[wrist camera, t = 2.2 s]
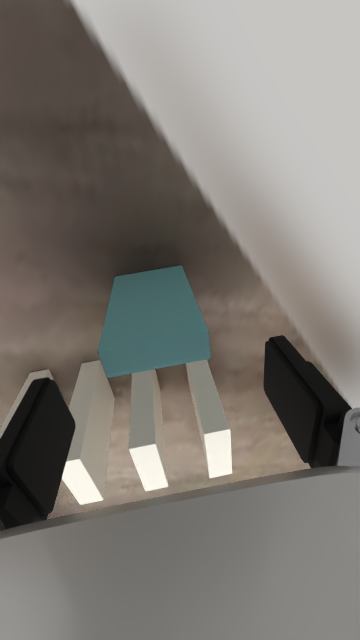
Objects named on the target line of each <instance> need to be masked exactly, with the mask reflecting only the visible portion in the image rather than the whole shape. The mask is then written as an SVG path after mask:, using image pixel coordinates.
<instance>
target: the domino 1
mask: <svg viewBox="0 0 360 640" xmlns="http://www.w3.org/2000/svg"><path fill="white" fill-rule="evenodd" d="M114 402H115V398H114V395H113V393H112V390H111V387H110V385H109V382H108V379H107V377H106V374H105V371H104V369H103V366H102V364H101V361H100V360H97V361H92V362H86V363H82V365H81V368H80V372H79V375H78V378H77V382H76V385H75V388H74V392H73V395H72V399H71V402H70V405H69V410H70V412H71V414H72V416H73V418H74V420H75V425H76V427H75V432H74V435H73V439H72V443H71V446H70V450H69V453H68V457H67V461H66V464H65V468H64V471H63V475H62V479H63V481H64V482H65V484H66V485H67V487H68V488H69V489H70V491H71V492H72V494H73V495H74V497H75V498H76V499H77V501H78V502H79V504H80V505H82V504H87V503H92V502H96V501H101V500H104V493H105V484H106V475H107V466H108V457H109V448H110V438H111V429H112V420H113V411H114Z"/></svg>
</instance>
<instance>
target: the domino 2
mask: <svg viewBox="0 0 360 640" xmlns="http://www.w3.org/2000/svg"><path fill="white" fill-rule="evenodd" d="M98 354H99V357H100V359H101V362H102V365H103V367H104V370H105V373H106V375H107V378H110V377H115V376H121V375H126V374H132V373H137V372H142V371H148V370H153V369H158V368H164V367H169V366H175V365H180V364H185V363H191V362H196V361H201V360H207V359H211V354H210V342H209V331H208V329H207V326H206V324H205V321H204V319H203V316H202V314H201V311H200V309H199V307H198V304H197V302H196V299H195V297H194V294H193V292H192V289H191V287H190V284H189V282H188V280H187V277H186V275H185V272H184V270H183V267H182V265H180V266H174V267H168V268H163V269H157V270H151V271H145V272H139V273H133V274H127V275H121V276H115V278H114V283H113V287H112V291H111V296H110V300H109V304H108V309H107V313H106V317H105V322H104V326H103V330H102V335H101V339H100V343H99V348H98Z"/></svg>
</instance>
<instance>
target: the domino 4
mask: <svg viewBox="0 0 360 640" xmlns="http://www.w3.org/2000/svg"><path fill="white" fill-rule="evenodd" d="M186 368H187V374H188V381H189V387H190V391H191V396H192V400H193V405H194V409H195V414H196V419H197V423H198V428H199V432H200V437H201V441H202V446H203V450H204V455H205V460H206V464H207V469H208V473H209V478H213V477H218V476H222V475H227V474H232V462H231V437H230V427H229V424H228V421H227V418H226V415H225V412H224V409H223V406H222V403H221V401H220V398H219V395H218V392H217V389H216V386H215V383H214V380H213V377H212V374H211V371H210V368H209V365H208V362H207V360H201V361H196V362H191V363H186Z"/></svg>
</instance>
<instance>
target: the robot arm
mask: <svg viewBox="0 0 360 640" xmlns="http://www.w3.org/2000/svg"><path fill="white" fill-rule="evenodd" d="M264 391H265V393H266V395H267V397H268V399H269V401H270V403H271V404H272V406H273V408H274V410H275V412H276V413H277V415H278V417H279V419H280V421H281V423H282V424H283V426H284V428H285V430H286V432H287V433H288V435H289V437H290V439H291V441H292V443H293V444H294V446H295V448H296V450H297V452H298V453H299V455H300V457H301V459H302V460H303V462H304V463H309V465H310V467H311V469H305V470H299V471H293V472H287V473H281V474H276V475H270V476H265V477H259V478H254V479H249V480H244V481H238V482H233V483H228V484H223V485H218V486H212V487H207V488H202V489H197V490H192V491H187V492H182V493H177V494H171V495H166V496H161V497H156V498H151V499H146V500H141V501H136V502H131V503H126V504H121V505H116V506H111V507H106V508H101V509H96V510H92V511H87V512H82V513H77V514H72V515H67V516H62V517H57V518H53V519H48V520H46V519H47V516H48V514H49V513H51V512H52V510H53V507H54V504H55V500H56V497H57V493H58V489H59V486H60V482H61V479H62V475H63V471H64V468H65V464H66V461H67V457H68V453H69V450H70V446H71V443H72V439H73V435H74V432H75V427H76V425H75V420H74V418H73V416H72V414H71V412H70V410H69V408H68V406H67V404H66V402H65V400H64V398H63V396H62V394H61V392H60V390H59V388H58V386H57V384H56V382H55V381H54V380H51V379H50V378H49V377H45V378H40V379H34V380H33V381H32V382H31V384H30V386H29V388H28V389H27V391H26V393H25V395H24V397H23V398H22V400H21V402H20V404H19V406H18V407H17V409H16V411H15V413H14V415H13V417H12V418H11V420H10V422H9V424H8V426H7V427H6V429H5V431H4V433H3V435H2V436H1V438H0V640H360V408H354V409H352V408H351V407H350V406H349V405H348V404H347V403H346V401H345V400H344V399H343V398H342V397H341V396H340V395H339V393H338V392H337V391H336V390H335V389H334V388H333V387H332V386H331V384H330V383H329V382H328V381H327V380H326V379H325V378H324V377H323V375H322V374H321V373H320V372H319V371H318V370H317V369H316V367H315V366H314V365H313V364H312V363H311V362H308V361H305V359H304V358H303V357H302V356H301V355H300V354H299V353H298V351H297V350H296V349H295V348H294V347H293V346H292V344H291V343H290V342H289V341H288V340H287V339H286V337H285V336H283V335H281V336H276V337H270V338H269V341H267V342H266V343H265V364H264Z"/></svg>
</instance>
